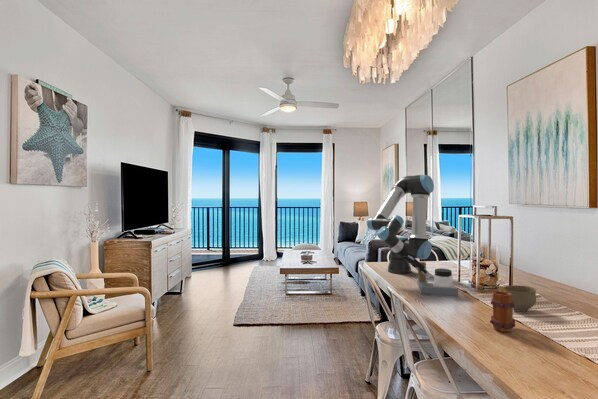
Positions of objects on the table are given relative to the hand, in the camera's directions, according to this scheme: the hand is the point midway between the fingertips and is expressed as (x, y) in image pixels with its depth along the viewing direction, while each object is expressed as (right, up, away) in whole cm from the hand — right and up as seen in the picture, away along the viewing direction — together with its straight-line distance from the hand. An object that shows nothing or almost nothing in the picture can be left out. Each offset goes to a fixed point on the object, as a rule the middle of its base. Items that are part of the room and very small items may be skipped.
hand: (427, 275), depth 194 cm
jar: (+1, -5, -20) cm, 21 cm away
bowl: (+22, -5, -47) cm, 53 cm away
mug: (+4, -5, -66) cm, 66 cm away
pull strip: (0, -5, -13) cm, 13 cm away
